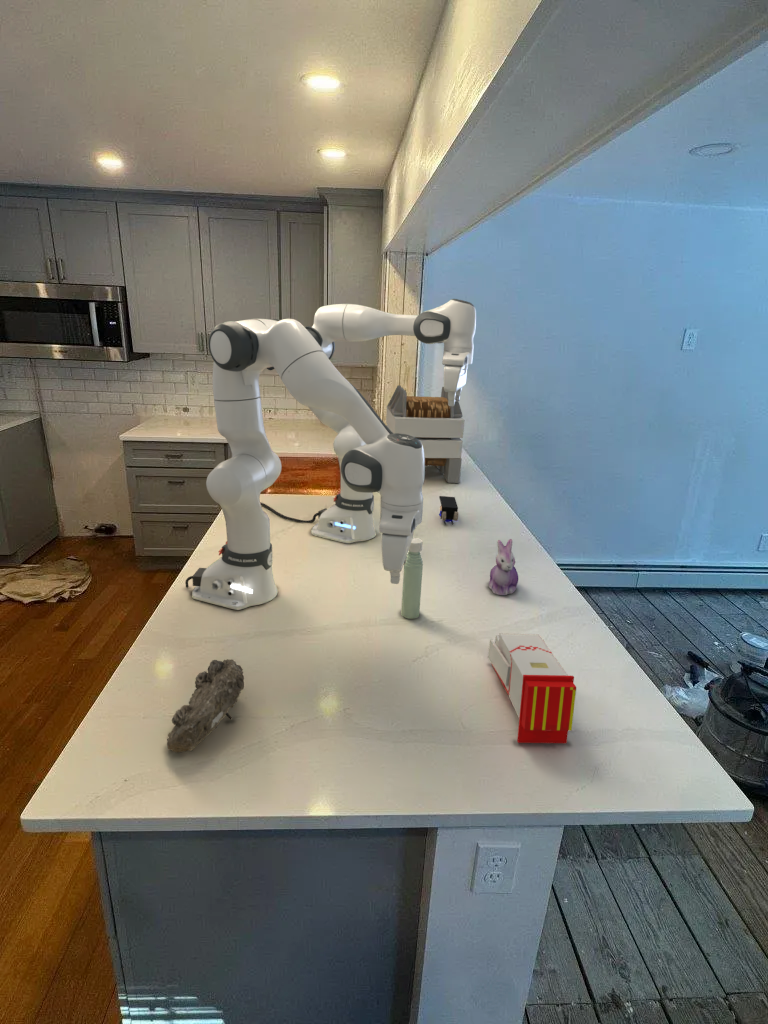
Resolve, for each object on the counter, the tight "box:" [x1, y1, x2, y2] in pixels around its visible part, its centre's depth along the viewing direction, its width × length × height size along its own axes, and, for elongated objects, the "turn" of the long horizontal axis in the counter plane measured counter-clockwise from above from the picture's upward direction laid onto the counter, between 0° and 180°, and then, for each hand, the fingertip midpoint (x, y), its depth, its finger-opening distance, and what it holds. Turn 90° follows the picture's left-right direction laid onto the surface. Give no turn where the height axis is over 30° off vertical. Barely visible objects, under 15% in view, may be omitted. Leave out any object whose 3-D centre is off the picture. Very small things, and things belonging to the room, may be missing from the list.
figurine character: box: [438, 495, 459, 526], centre depth 214 cm, size 7×8×15 cm
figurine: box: [488, 538, 519, 596], centre depth 161 cm, size 9×10×15 cm
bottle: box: [400, 551, 424, 620], centre depth 144 cm, size 5×5×20 cm
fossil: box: [166, 658, 245, 754], centre depth 106 cm, size 22×10×15 cm
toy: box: [487, 632, 577, 744], centre depth 116 cm, size 12×13×30 cm
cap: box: [408, 537, 424, 553], centre depth 141 cm, size 4×4×2 cm
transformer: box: [385, 384, 465, 484], centre depth 268 cm, size 34×33×41 cm
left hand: (398, 572), depth 123 cm, fingers open, 8 cm apart
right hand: (454, 403), depth 174 cm, fingers open, 8 cm apart
